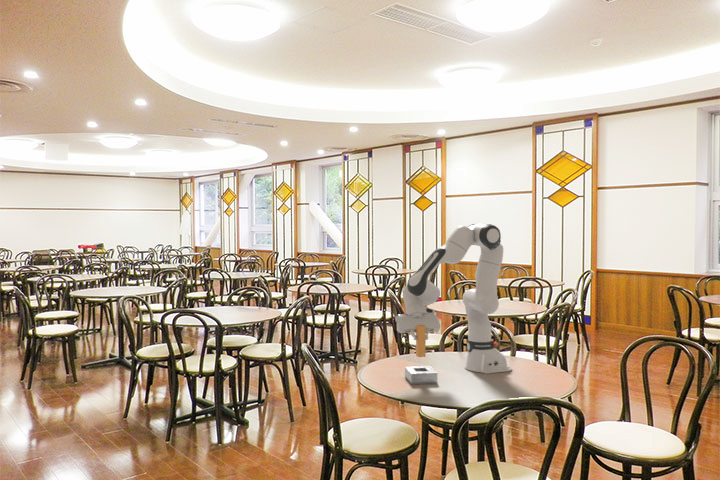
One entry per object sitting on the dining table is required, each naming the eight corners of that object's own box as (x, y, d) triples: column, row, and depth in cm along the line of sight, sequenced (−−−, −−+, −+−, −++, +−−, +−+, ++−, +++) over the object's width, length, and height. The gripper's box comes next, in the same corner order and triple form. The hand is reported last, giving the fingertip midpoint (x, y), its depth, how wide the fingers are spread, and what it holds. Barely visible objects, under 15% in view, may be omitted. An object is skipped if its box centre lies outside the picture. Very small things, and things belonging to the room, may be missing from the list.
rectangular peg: (423, 354, 242) (423, 324, 242) (425, 356, 239) (425, 326, 238) (415, 355, 242) (416, 324, 241) (417, 357, 238) (418, 326, 238)
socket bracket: (429, 375, 247) (429, 365, 247) (437, 383, 235) (437, 372, 235) (404, 376, 245) (404, 366, 245) (411, 384, 234) (411, 374, 233)
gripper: (395, 310, 245) (399, 336, 235) (437, 309, 248) (444, 334, 239) (393, 318, 249) (397, 343, 240) (434, 317, 252) (440, 342, 243)
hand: (421, 339), depth 239 cm, fingers closed on rectangular peg, 3 cm apart
